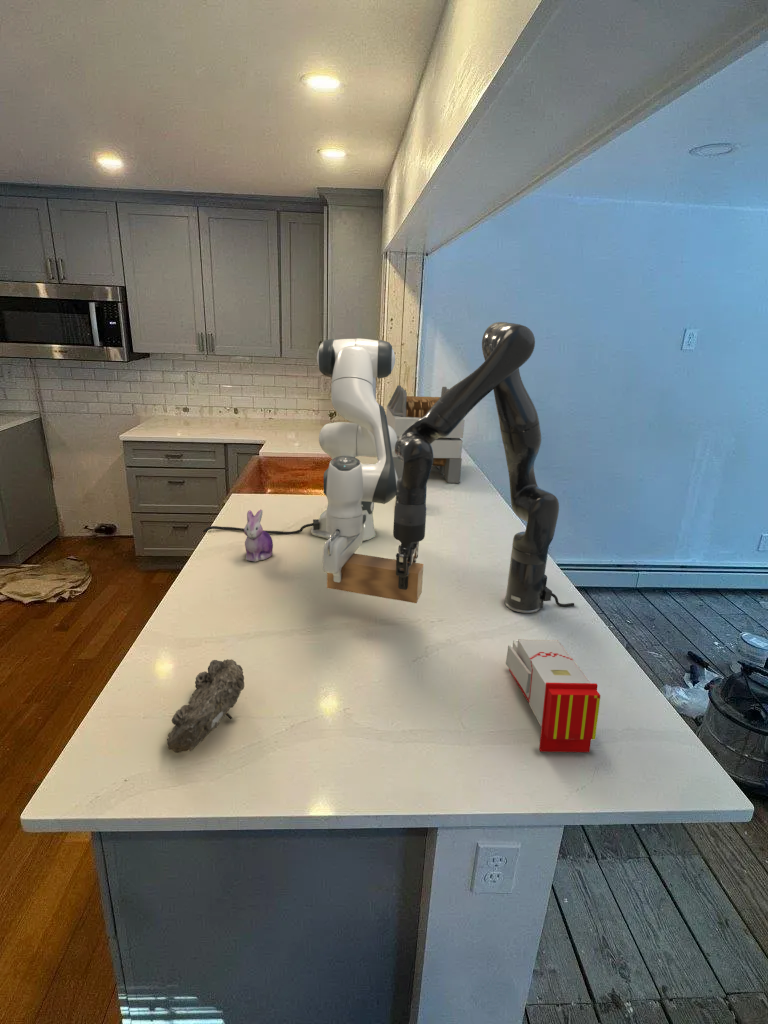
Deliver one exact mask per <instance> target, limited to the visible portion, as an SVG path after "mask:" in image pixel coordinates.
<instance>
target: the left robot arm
mask: <svg viewBox="0 0 768 1024" xmlns="http://www.w3.org/2000/svg"><path fill="white" fill-rule="evenodd" d="M316 362H317V367H318V369H319V372H320V373H321V374H322V375H323V376H325V377H328V378H331V386H330V394H331V395H330V398H331V405H332V407H333V409H334V410H335V412H336V413H337V415H339V416H341V417H342V418H343V419H345V420H347V421H336V422H330V423H325V424H324V425H323V426H322V427H321V429H320V431H319V434H318V442H319V446H320V448H321V450H322V451H323V452H324V453H325V454H327V455H328V456H329V457H330V459H331V460H330V461H329V464H328V468H327V469H326V470H325V471H324V472H323V495H325V497H326V499H327V506H326V509H325V510H323V512H321V514H320V515H319V517H318V519H317V518H316V519H312V522H311V523H307V524H304V525H302V526H301V527H300V529H298V530H294V531H284V530H283V531H281V530H263V531H266V532H267V533H269V534H270V535H271V534H274V535H296V534H300V533H302V532H303V530H304V529H306V528H309V527H312V528H311V530H310V533H311V536H315V537H319V538H323V539H326V541H325V543H324V546H323V551H322V564H321V565H322V568H321V569H322V571H323V572H324V573H326V574H327V573H332V574H333V575H334V582H340V581H341V580H342V574H341V569H342V567H343V566H344V564H345V563H346V562H347V561H348V560H349V558H350V557H351V556H352V555H353V554H354V553H355V552H356V551H358V550H359V548H360V547H361V546H362V544H363V542H365V541H368V540H372V539H373V538H375V537H376V535H377V532H376V528H375V523H374V513H373V512H374V509H375V504H381V505H382V504H383V505H385V504H388V503H389V502H391V501H392V500H393V499H394V498H396V487H397V481H398V478H397V474H396V471H395V468H394V462H393V456H392V453H393V452H394V450H395V444H396V442H397V435H396V433H395V431H394V429H393V428H392V427H390V426H389V425H388V423H387V418H386V411H385V408H384V406H383V405H381V404H380V403H379V402H378V401H377V395H376V394H377V380H376V379H378V380H379V379H385V378H388V377H389V376H390V375H391V374H392V372H393V369H394V368H395V364H396V354H395V351H394V348H393V345H392V344H391V343H390V342H389V341H386V340H383V339H379V340H376V339H369V338H358V337H356V338H340V339H339V338H338V339H335V338H329V339H325V340H323V341H322V342H321V343H320V344H319V346H318V349H317V352H316ZM348 421H349V422H348ZM357 457H364V458H376V459H377V461H376V462H375V463H362V462H361V461H360V459H359V458H357ZM244 528H245V527H244ZM244 528H243V527H235V526H218V525H211V526H208V527H206V528H205V529H203V530H202V532H203V533H207V532H208V531H210V530H220V531H221V530H222V531H224V530H225V531H238V532H244ZM355 554H356V553H355Z"/></svg>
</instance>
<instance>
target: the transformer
mask: <svg viewBox="0 0 768 1024" xmlns="http://www.w3.org/2000/svg"><path fill="white" fill-rule="evenodd" d="M449 389H450V388H447V386H442V387H441V392H440V393H441V394H440V396H415V395H414V396H413V395H412V396H411V395H407V394H408V393H407V390H406V389H404V388H403V387H402V385H399V384H398V385H397V386H396V388H395V390H394V392H393V394H392V395H391V398H390V400H389V402H388V404H387V405H386V411H385V413H386V418H387V423H388V425H389V426H390V427H392V428H393V429H394V431H395V433H396V435H397V440H398V438H399V437H400V435H401V434H402V433H403V432H404V431H405V430H406V429H407V428H409V427H410V426H411V425H412V424H414V423H415V422H416V421H418V420H419V419H420V418H422V417H423V416H424V415H425V414H426V413H427V412H428V411H429V410H430V409H431V407H432V406H433V405H434V404H435V403H436V402H437V401H438V400H439V398H440V397H441V396H442V395H443V394H444V393H445V392H447V391H448V390H449ZM464 429H465V418H463V420H462V421H461V422H460V423H459V424H458V425H457V426H456V427H455V428H454V430H453V431H452V432H451V433H450V434H449V435H448V436H446V437H444V438H438V439H436V440H435V441H434V442H433V443H431V446H432V449H433V464H432V467H436V468H437V470H438V469H439V473H440V474H441V475H443V478H444V479H445V481H446V482H447V483H449V484H455V483H456V484H459V483H461V472H462V461H463V460H462V453H463V442H464V441H463V440H462V439H463V438H464V431H465V430H464ZM392 456H393V462H394V468H395V471H396V474H397V478H399V477H400V476H402V473H403V462H402V461H401V460H400V459H399V458H398V457H397V456H396V454H395V450H394V452H393V453H392Z"/></svg>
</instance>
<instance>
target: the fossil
mask: <svg viewBox="0 0 768 1024" xmlns="http://www.w3.org/2000/svg"><path fill="white" fill-rule="evenodd" d="M243 670H244V669H243V667H242V665H240V664H237V662H236V661H235V660H234V659H232V658H231V659H227V658H226V659H224V660H223V661H222V660H217V659H212V660H211V661H210V663H209V665H208V666H207V671H201V672H199V673H198V674H197V675H196V676H195V680H194V684H195V685H194V687H195V689H194V690H193V693H192V694H191V697H190V698H189V700H188V704H184V705H182V706H181V707H180V709H177V710H176V711H175V713H174V715H173V716H172V718H171V723H172V724H173V727H172V730H171V731H170V732H168V734H167V738H166V741H167V742H166V745H167V749H168V750H169V751H173V752H174V753H176V754H178V753H182V752H188V751H189V752H192V751H193V750H195V748H196V747H197V746H199V744H200V743H201V742H203V741H204V740H205V739H206V738H207V737H208V736H209V735H210V734H211V733H212V732H214V730H215V729H217V727H218V726H219V724H220V722H221V721H222V720H223V719H224V718H225V716H226V717H227V719H229V720H233V717H232V715H230V714H229V710H230V709H231V708H234V706H235V704H236V703H237V702H238V699H239V697H240V695H241V693H242V691H243V690H245V689H244V688H245V675H244V671H243Z"/></svg>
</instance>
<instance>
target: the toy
mask: <svg viewBox="0 0 768 1024" xmlns="http://www.w3.org/2000/svg"><path fill="white" fill-rule="evenodd" d="M505 659H506V660H505V665H506V666H507V667H508V671H509V673H510V674H511V676H512V678H513V679H514V681H515V682H516V685H517V686H518V688H519V690H520V691H521V692H522V694H523V697H525V699H526V701H527V703H529V707H530V709H531V711H532V712H533V714H534V716H535V718H536V720H537V722H538V724H539V726H540V728H541V729H540V739H539V748H538V751H539V752H540V753H543V752H544V753H590V752H591V744H592V743H591V742H592V740H596V736H597V727H598V720H599V719H598V718H599V710H600V704H601V703H600V702H601V696H602V695H601V694H600V693H599V692H598V687H599V686H598V683H595V682H594V683H592V682H591V681H590V679H589V678H588V677H587V676H586V674H585V673H584V671H583V670H582V669H581V668H580V666H579V665H578V664H577V663H576V662H575V661H576V660H574V659H573V658H572V656H571V655H570V653H568V651H567V650H566V648H565V647H564V645H563V644H562V643H561V642H560V641H559V639H529V638H528V639H524V638H521V639H517V640H512V645H511V644H510V645H509V644H508V646H507V653H506V658H505Z"/></svg>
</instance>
